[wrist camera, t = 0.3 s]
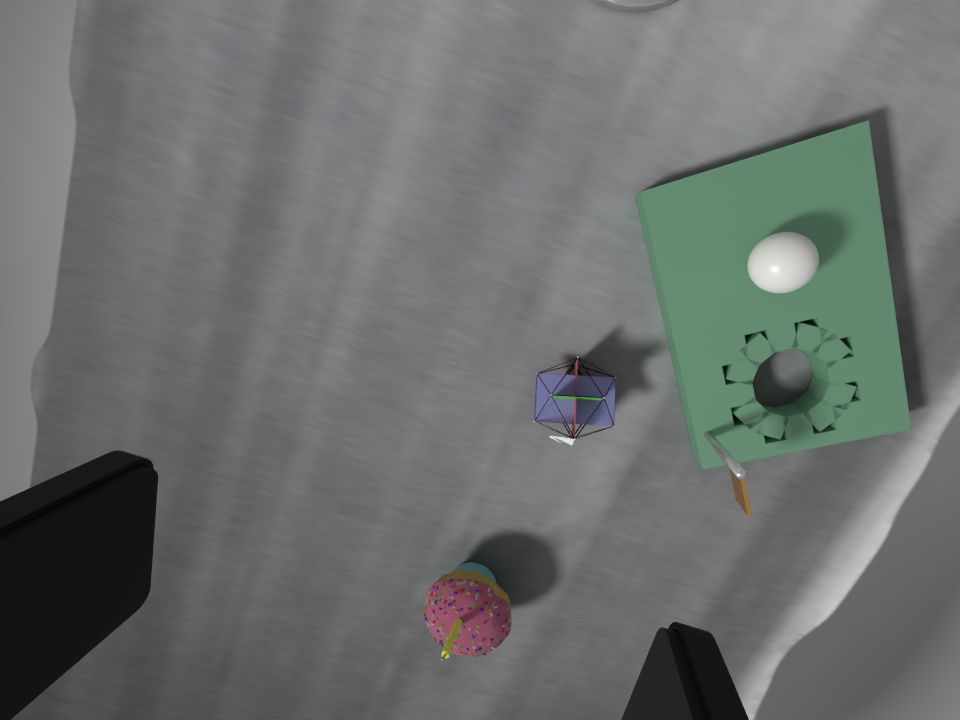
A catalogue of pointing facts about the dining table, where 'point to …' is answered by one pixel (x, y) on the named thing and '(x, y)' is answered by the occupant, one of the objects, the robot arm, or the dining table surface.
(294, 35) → the dining table surface
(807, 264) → the ball
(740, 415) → the green flat slab
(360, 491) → the dining table surface
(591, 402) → the geometric puzzle
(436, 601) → the cupcake
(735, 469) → the flag pin
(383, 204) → the dining table surface
